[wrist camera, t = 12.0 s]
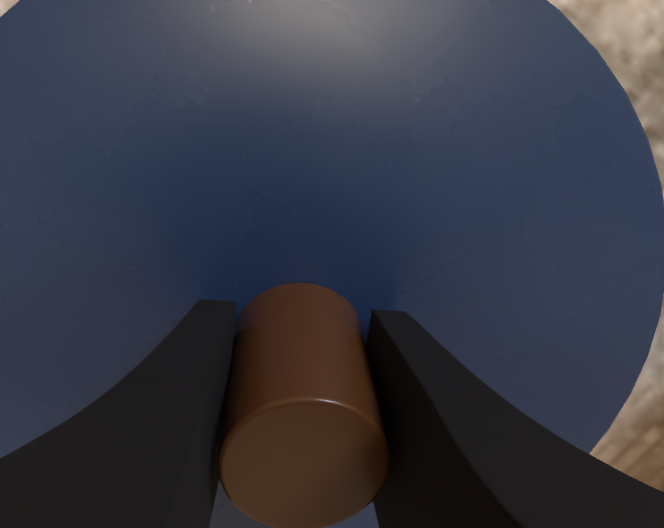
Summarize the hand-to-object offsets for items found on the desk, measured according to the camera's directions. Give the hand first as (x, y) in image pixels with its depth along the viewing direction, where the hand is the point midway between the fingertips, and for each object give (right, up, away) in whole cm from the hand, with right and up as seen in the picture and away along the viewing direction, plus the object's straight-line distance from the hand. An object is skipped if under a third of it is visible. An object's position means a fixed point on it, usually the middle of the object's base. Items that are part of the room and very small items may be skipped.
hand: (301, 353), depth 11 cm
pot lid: (0, 0, +1) cm, 1 cm away
